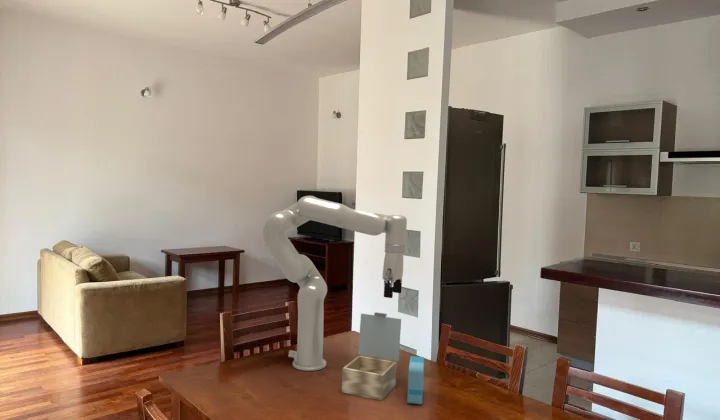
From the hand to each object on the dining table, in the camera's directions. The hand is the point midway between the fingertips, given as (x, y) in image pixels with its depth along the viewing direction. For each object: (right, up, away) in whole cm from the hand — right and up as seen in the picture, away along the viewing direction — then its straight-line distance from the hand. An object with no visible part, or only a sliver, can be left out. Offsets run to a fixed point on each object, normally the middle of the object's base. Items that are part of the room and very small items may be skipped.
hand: (392, 295), depth 187 cm
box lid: (-6, -12, -11) cm, 17 cm away
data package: (+6, -30, -23) cm, 38 cm away
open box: (-9, -29, -17) cm, 34 cm away
